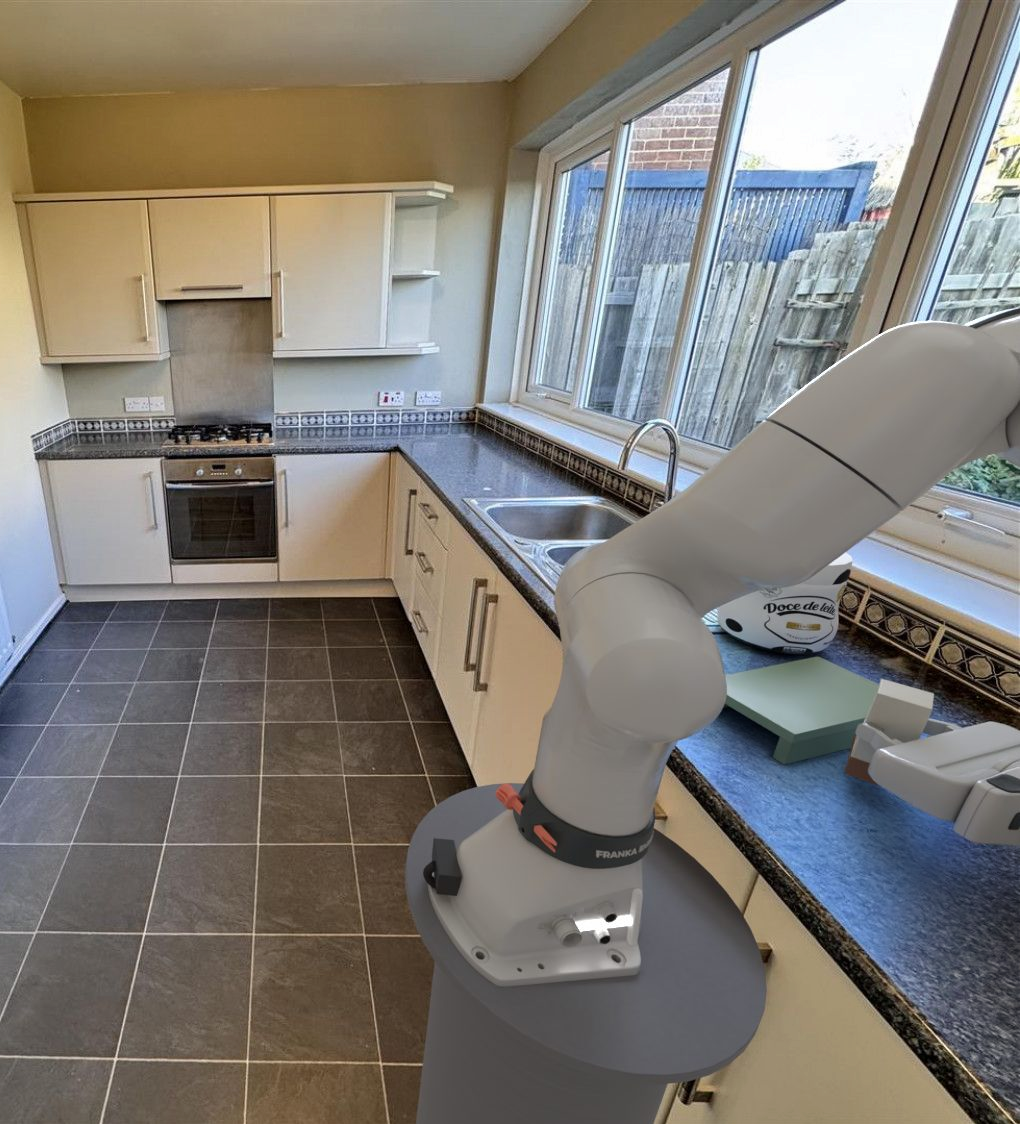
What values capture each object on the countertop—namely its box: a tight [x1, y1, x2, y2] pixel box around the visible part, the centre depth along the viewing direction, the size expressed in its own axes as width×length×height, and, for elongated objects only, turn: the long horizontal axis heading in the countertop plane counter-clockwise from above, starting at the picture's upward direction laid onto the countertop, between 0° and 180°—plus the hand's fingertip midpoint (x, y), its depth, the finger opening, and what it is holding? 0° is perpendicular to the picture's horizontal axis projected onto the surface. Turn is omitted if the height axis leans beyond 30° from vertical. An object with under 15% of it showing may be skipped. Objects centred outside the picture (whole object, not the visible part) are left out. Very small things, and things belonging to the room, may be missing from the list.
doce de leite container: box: [716, 552, 853, 656], centre depth 112 cm, size 17×17×18 cm
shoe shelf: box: [723, 656, 879, 766], centre depth 92 cm, size 24×14×5 cm, turn 105°
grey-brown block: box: [843, 678, 935, 789], centre depth 76 cm, size 10×5×12 cm, turn 133°
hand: (882, 722), depth 75 cm, fingers closed on grey-brown block, 6 cm apart
